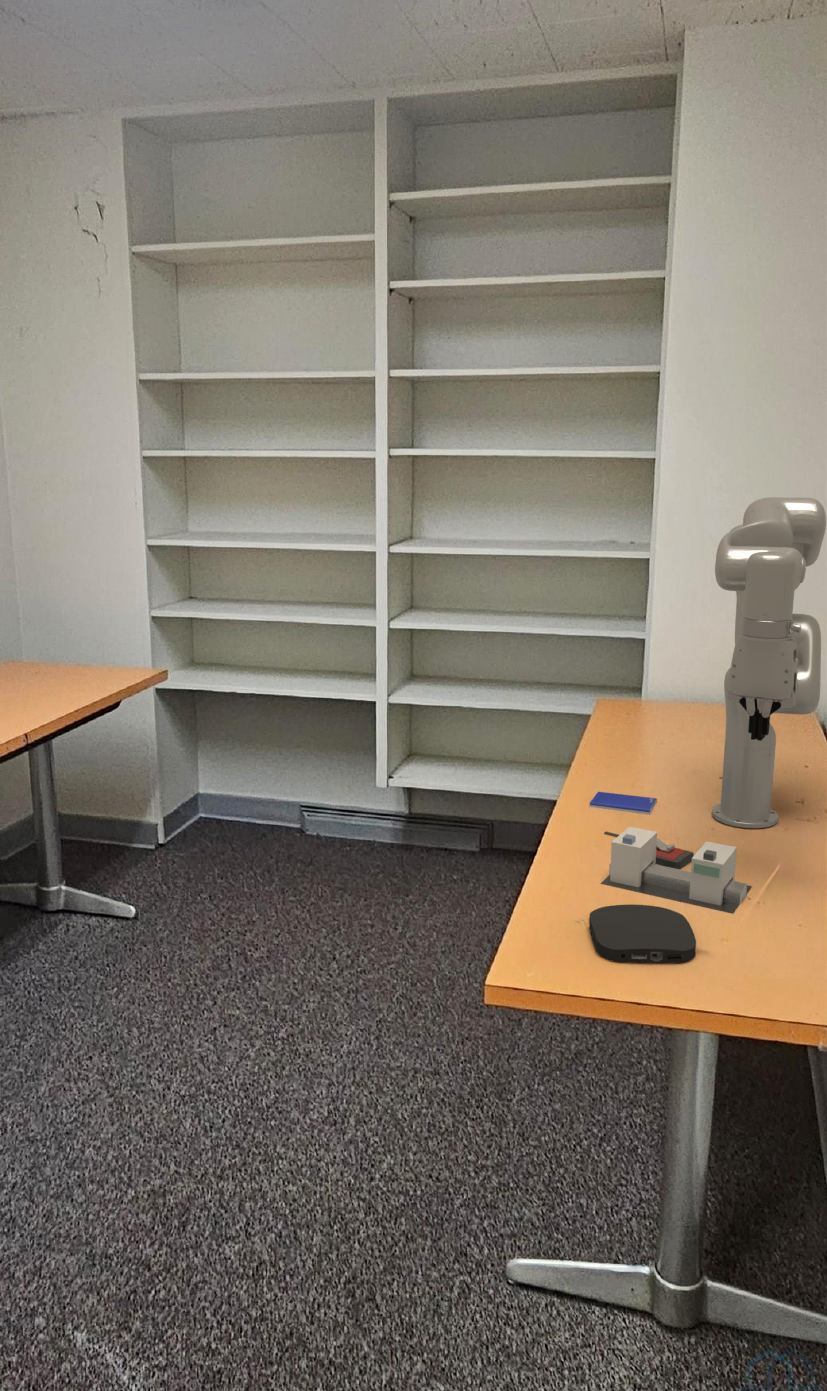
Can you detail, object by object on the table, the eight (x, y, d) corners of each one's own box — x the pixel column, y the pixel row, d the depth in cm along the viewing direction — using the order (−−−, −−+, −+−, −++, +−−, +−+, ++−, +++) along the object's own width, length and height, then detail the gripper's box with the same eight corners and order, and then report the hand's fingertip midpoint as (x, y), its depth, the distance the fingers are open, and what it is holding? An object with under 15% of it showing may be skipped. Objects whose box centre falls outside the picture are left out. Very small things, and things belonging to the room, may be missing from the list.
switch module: (703, 880, 170) (706, 835, 168) (733, 886, 168) (737, 841, 166) (688, 899, 163) (691, 852, 161) (719, 905, 160) (723, 858, 159)
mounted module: (627, 864, 177) (629, 821, 175) (655, 870, 174) (657, 826, 173) (609, 880, 170) (611, 836, 168) (638, 887, 168) (640, 842, 166)
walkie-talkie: (705, 864, 180) (606, 838, 193) (707, 841, 179) (607, 816, 192) (683, 879, 174) (582, 852, 186) (685, 855, 173) (583, 829, 185)
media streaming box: (679, 920, 158) (680, 903, 158) (701, 966, 144) (702, 947, 144) (585, 919, 159) (586, 902, 158) (598, 965, 145) (599, 945, 144)
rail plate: (625, 864, 179) (626, 849, 179) (751, 891, 168) (753, 875, 167) (600, 888, 169) (600, 872, 169) (732, 919, 158) (734, 901, 157)
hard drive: (657, 797, 211) (598, 790, 216) (650, 809, 204) (589, 802, 209) (656, 804, 212) (598, 797, 216) (649, 817, 204) (589, 809, 209)
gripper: (819, 629, 162) (809, 739, 167) (726, 622, 170) (719, 727, 174) (810, 636, 156) (800, 750, 160) (713, 628, 164) (706, 737, 168)
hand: (758, 738), depth 167 cm, fingers closed
